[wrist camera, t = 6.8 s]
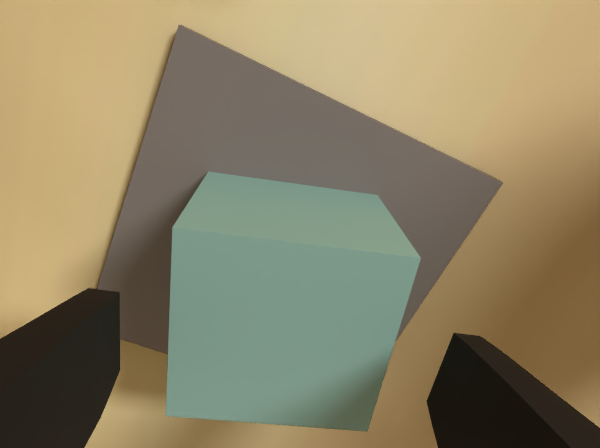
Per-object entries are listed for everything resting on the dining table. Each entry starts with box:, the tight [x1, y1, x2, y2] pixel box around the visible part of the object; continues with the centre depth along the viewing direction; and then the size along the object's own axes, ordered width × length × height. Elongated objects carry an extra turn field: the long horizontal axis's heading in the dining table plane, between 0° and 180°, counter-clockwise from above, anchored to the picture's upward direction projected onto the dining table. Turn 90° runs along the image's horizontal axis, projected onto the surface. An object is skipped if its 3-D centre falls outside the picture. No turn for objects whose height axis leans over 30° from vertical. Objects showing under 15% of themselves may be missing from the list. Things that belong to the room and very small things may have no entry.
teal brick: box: [166, 172, 421, 431], centre depth 11 cm, size 5×5×4 cm
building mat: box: [97, 25, 503, 354], centre depth 13 cm, size 10×10×1 cm
